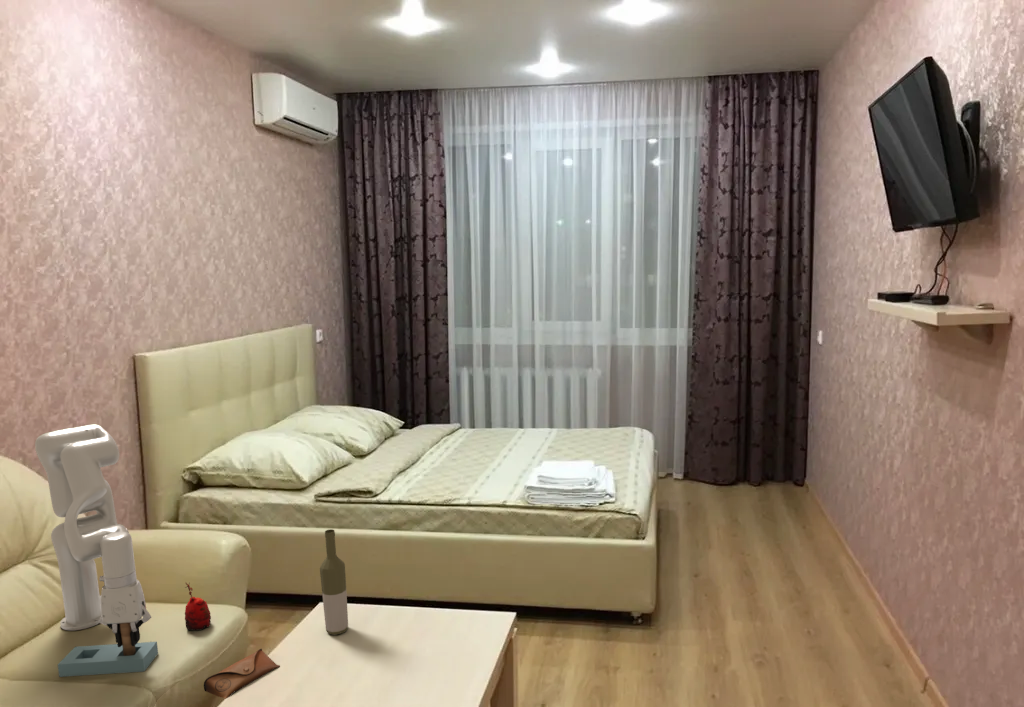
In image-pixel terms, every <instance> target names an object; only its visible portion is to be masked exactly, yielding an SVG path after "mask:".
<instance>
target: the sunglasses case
mask: <svg viewBox="0 0 1024 707" xmlns="http://www.w3.org/2000/svg"><path fill="white" fill-rule="evenodd" d="M280 666H281V665H279V664H277V663H276V662H274V660H273V659H271V658H270V657H269V656H268V655H267V653H266V652H264V651H263V649H262V648H260V649H258V650H257V651H255V652H253V653H251V654H249V655H248V656H246V657H244V658H242V659H240V660H238V661H236V662H234V663H233V664H231V665H229V666H227V667H225V668H223V669H222V670H220V671H218V672H217V673H215V674H212V675H210V676H208V677H207V678H206V679H205V680H204V681H203V690H204V692H206V693H209V694H211V695H215V696H216V697H219V698H222V699H228V698H230V697H231V696H232V695H233V694H236V693H237V692H238V691H240V690H242V689H243V688H244V687H246V686H248V685H249V684H251V683H253V682H255V681H256V680H258V679H260V678H261V677H263V676H265V675H267V674H269V673H271V672H272V671H274V670H277V669H278V668H280ZM234 691H235V692H234ZM233 692H234V693H233ZM232 693H233V694H232ZM231 694H232V695H231ZM230 695H231V696H230Z"/></svg>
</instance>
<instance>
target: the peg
mask: <svg viewBox="0 0 1024 707" xmlns="http://www.w3.org/2000/svg"><path fill="white" fill-rule="evenodd" d="M120 631H121V639H122V647H123V655H124V656H131V655H135V654H136V648H135V646H132V645H131V637H130V632H131V631H132V629H131V625H130V623H120Z"/></svg>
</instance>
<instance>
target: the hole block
mask: <svg viewBox="0 0 1024 707" xmlns="http://www.w3.org/2000/svg"><path fill="white" fill-rule="evenodd" d="M135 648H136V654H135V655H131V656H124V655H123V647H122V646H121V647H118V645H117V643H115V644H114V643H112V644H99V645H98V644H95V645H81V646H78V645H77V646H75V647H73V648H72V649H71V650H70V651H69V653H67V654H66V655H65V656H64V658H62V660H60V661H59V663H58V664H57V669H58V677H60V678H62V677H76V676H77V677H78V676H93V675H108V674H124V673H139V672H146V670H147V668H149V666H150V665H151V664H152V662H153V661H154V660H155V658H156V657H157V656H158V654H159V648H158V642H157V641H148V642H147V641H145V642H138V643H137V644H136V645H135Z"/></svg>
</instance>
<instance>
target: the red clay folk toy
mask: <svg viewBox="0 0 1024 707" xmlns="http://www.w3.org/2000/svg"><path fill="white" fill-rule="evenodd" d="M185 585H186V587H184V588H185V589H186V588H188V591H189V592H188V595H189V596H190V598H189V601H188V602H187V604H186V605H185V610H184V620H185V628H186V629H187V630H189V631H201V630H205V628H206V629H207V628H209V627H210V625H211V620H212V616H211V612H210V609H209V605H208V603H207V601H206V600H204V599H203V598H201V597H196V596H193V595H192V591H193V588H192V587H191V586H190V581H189V582H188V583H187V582H185Z"/></svg>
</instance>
